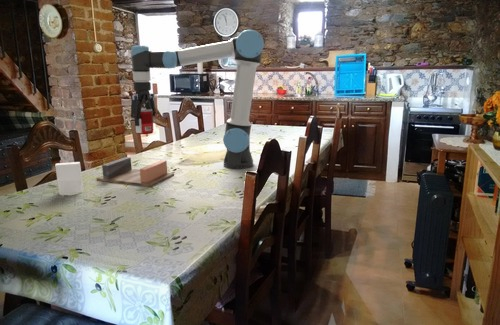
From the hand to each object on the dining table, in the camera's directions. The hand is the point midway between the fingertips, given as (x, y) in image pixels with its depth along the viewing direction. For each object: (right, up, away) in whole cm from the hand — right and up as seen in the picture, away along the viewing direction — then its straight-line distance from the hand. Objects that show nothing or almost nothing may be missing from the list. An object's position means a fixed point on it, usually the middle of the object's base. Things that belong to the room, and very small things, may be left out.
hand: (144, 131), depth 174 cm
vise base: (-3, -22, -3) cm, 22 cm away
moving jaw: (+6, -21, -7) cm, 23 cm away
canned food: (0, -1, 0) cm, 1 cm away
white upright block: (-24, -27, -21) cm, 42 cm away
